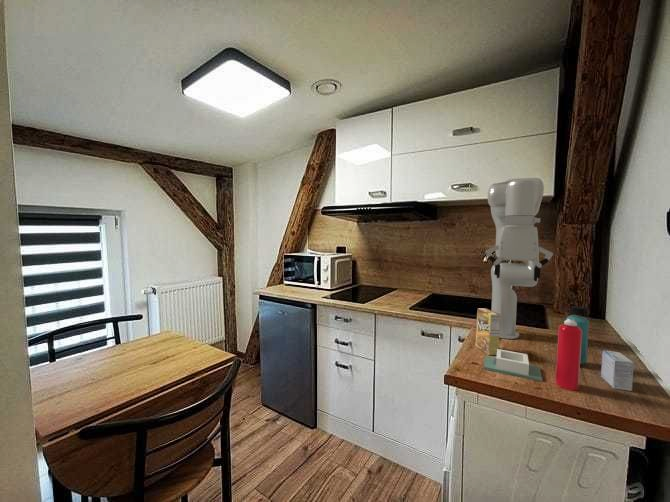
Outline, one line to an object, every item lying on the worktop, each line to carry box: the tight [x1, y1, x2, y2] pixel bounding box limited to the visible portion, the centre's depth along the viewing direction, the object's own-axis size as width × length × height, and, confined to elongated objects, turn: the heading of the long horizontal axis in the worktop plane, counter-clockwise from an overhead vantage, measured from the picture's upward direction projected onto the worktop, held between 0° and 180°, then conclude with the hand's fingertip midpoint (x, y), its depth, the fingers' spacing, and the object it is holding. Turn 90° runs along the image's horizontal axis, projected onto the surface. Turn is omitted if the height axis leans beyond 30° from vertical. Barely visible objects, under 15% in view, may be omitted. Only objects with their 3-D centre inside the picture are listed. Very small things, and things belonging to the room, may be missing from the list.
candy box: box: [475, 307, 501, 356], centre depth 113 cm, size 9×4×15 cm, turn 6°
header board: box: [483, 349, 543, 383], centre depth 99 cm, size 10×16×4 cm, turn 60°
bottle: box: [554, 319, 582, 391], centre depth 88 cm, size 6×5×20 cm
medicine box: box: [600, 350, 635, 392], centre depth 89 cm, size 8×4×9 cm, turn 158°
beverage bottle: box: [565, 305, 590, 364], centre depth 103 cm, size 6×7×20 cm
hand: (516, 279), depth 90 cm, fingers open, 9 cm apart
